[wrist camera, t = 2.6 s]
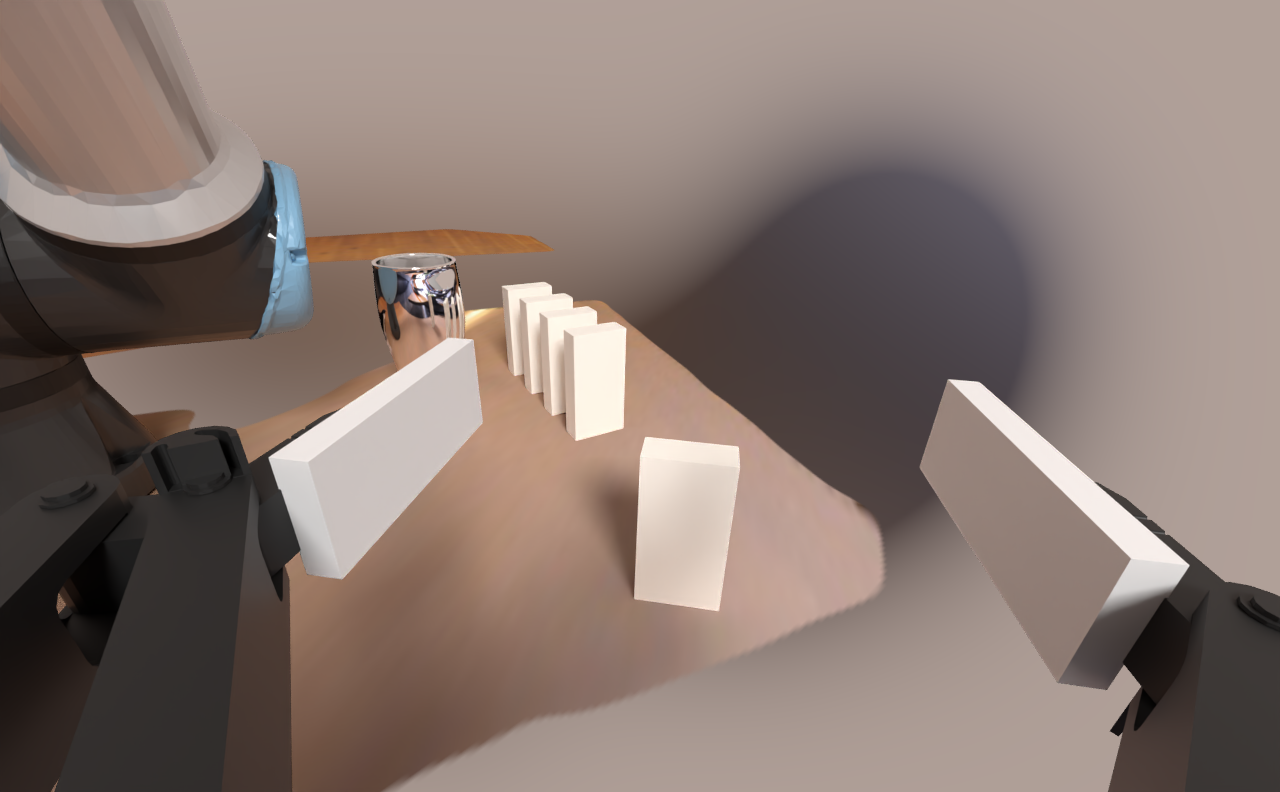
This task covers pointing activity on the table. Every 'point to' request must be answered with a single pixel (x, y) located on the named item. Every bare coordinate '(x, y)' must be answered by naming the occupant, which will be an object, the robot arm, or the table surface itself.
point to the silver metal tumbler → (418, 303)
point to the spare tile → (684, 521)
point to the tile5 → (518, 320)
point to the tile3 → (558, 351)
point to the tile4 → (537, 334)
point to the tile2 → (594, 379)
